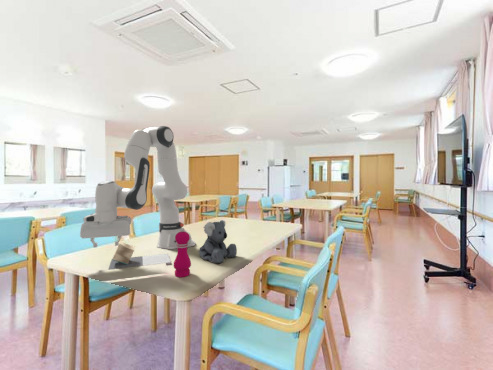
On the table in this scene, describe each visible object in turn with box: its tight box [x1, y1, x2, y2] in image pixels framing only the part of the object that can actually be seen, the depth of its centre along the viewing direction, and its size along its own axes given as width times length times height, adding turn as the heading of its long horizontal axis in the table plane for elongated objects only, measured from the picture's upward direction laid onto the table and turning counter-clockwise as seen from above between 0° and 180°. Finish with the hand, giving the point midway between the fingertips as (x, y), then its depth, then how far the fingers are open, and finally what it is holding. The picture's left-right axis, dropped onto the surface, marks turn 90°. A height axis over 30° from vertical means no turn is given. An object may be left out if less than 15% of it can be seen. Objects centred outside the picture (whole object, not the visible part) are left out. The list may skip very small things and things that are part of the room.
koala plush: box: [198, 219, 237, 264], centre depth 132 cm, size 17×18×20 cm
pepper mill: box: [173, 227, 192, 278], centre depth 108 cm, size 7×7×20 cm
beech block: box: [111, 241, 136, 265], centre depth 120 cm, size 7×7×7 cm
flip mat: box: [108, 253, 172, 270], centre depth 123 cm, size 26×15×1 cm, turn 113°
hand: (106, 246), depth 117 cm, fingers open, 7 cm apart
